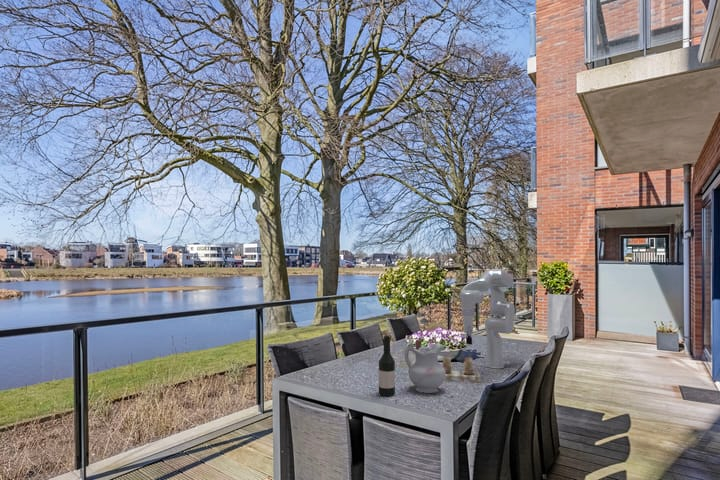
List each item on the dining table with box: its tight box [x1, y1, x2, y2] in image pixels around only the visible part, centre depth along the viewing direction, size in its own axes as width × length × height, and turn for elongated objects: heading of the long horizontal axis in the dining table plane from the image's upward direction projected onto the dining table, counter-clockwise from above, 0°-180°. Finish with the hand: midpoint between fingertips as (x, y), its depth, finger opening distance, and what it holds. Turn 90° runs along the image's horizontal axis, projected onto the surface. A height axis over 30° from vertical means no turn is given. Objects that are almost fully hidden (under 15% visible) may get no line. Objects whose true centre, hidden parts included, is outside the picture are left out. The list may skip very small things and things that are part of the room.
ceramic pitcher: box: [404, 342, 445, 394], centre depth 227 cm, size 22×20×25 cm
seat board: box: [442, 356, 482, 383], centre depth 249 cm, size 24×12×12 cm, turn 80°
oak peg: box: [464, 356, 474, 375], centre depth 248 cm, size 5×5×12 cm
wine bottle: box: [378, 334, 396, 398], centre depth 220 cm, size 8×8×30 cm
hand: (469, 344), depth 252 cm, fingers closed
